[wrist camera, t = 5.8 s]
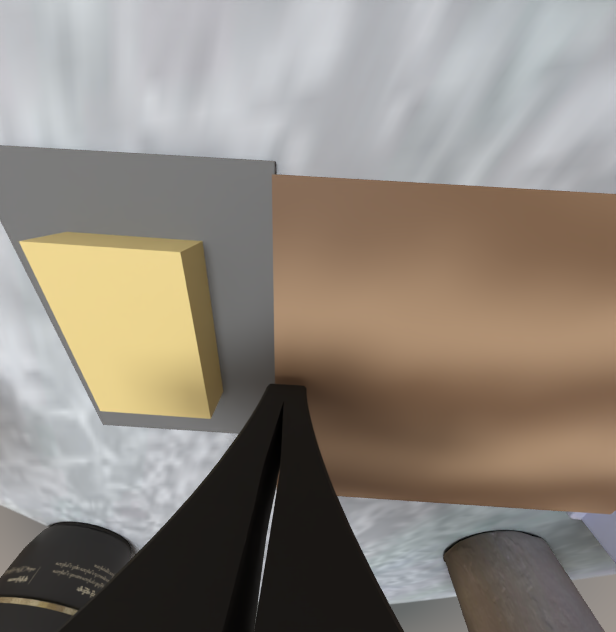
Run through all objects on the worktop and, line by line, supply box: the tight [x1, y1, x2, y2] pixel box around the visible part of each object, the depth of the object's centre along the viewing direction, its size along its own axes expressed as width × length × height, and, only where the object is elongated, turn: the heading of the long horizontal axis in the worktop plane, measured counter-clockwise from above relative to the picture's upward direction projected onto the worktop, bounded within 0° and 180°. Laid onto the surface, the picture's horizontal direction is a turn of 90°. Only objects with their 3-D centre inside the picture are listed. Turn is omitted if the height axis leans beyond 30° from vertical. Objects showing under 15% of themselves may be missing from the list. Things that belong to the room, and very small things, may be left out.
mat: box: [0, 145, 276, 434], centre depth 13 cm, size 16×12×1 cm
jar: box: [0, 522, 131, 632], centre depth 24 cm, size 10×10×8 cm
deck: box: [272, 174, 616, 514], centre depth 12 cm, size 15×18×4 cm
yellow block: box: [19, 232, 223, 419], centre depth 12 cm, size 9×6×2 cm, turn 176°
